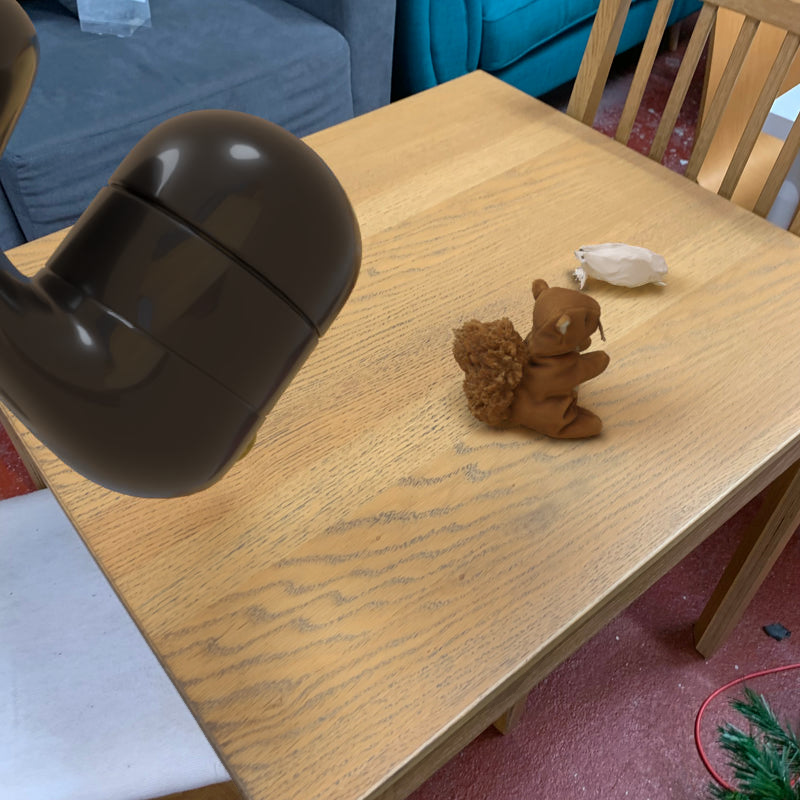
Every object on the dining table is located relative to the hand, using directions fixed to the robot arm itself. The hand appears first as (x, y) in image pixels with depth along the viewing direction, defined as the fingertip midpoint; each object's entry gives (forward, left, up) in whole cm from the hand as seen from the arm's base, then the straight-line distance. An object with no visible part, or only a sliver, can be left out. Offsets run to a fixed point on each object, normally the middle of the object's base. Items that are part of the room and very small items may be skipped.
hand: (196, 353), depth 53 cm
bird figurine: (+43, +26, -17) cm, 53 cm away
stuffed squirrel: (+28, +8, -17) cm, 34 cm away
